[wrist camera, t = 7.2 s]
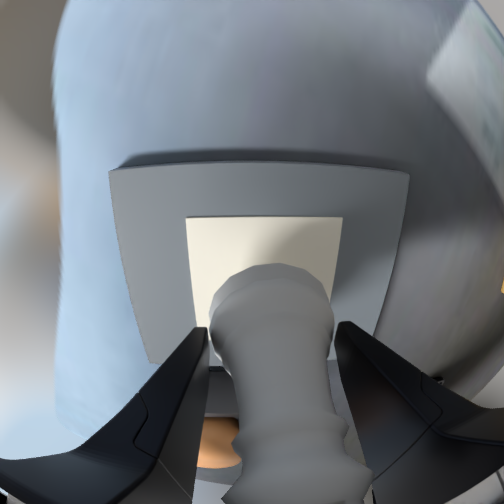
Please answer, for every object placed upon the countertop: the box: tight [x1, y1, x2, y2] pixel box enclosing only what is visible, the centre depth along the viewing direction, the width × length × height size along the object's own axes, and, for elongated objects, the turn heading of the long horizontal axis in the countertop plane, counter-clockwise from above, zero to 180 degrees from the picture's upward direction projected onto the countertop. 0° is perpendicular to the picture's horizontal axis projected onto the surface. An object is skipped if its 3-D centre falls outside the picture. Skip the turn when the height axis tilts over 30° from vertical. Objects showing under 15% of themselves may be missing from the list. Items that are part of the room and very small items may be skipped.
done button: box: [197, 417, 241, 468], centre depth 13 cm, size 4×4×2 cm
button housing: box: [204, 371, 239, 421], centre depth 15 cm, size 5×5×3 cm
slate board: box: [109, 161, 410, 366], centre depth 12 cm, size 12×10×1 cm
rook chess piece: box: [208, 263, 375, 504], centre depth 7 cm, size 4×4×8 cm
